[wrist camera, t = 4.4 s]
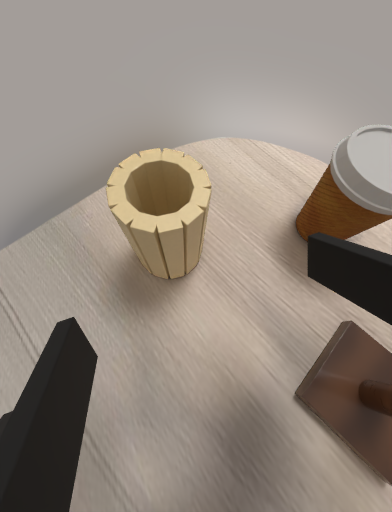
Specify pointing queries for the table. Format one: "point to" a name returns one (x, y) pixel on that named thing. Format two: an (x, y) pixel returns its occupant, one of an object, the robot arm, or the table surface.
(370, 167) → the disposable coffee cup
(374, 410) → the spindle stand
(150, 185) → the wooden stave sleeve
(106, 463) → the table surface
